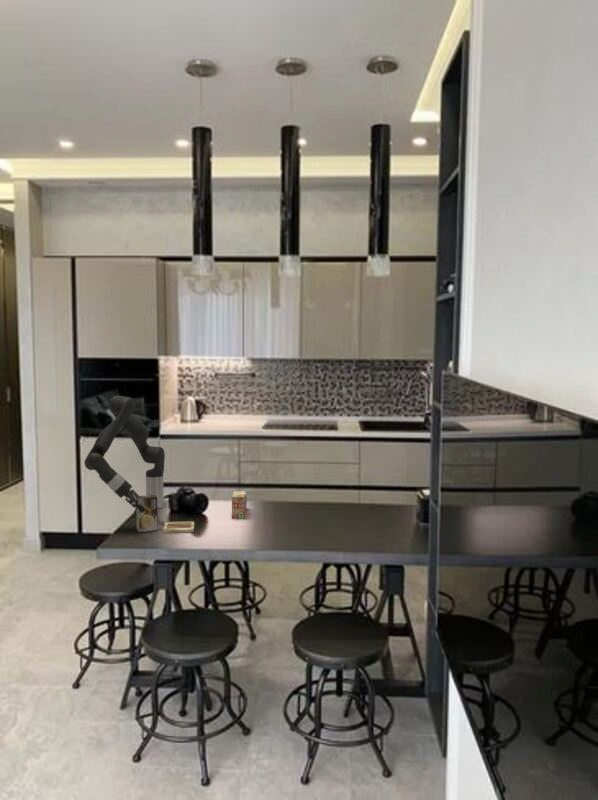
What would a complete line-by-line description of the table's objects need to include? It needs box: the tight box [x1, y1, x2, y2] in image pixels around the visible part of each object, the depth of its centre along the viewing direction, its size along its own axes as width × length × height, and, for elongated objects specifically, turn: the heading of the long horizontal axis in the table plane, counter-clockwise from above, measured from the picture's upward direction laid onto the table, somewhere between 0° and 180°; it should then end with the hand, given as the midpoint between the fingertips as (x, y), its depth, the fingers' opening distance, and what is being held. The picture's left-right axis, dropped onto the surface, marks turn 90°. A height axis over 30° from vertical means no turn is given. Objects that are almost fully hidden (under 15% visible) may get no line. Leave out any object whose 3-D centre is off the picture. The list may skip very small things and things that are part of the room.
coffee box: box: [135, 494, 159, 533], centre depth 293 cm, size 9×6×16 cm
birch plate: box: [162, 520, 195, 534], centre depth 295 cm, size 14×14×2 cm
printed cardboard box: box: [231, 490, 248, 520], centre depth 323 cm, size 21×6×12 cm, turn 1°
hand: (144, 509), depth 292 cm, fingers closed on coffee box, 7 cm apart
